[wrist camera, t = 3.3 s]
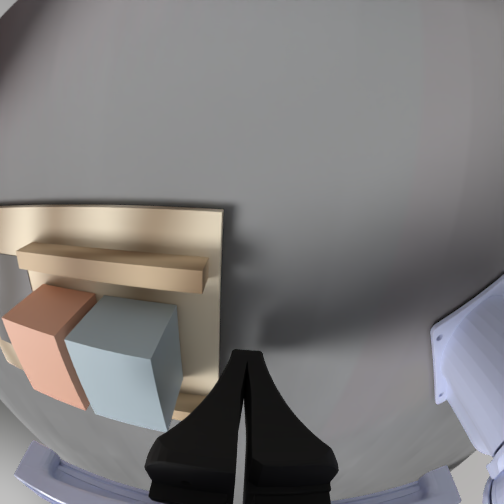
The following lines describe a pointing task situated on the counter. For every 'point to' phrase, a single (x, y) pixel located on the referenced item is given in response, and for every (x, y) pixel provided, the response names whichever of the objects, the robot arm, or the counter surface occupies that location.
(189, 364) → the maple chute
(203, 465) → the robot arm
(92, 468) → the counter surface
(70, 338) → the grey-blue block
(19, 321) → the terracotta block
